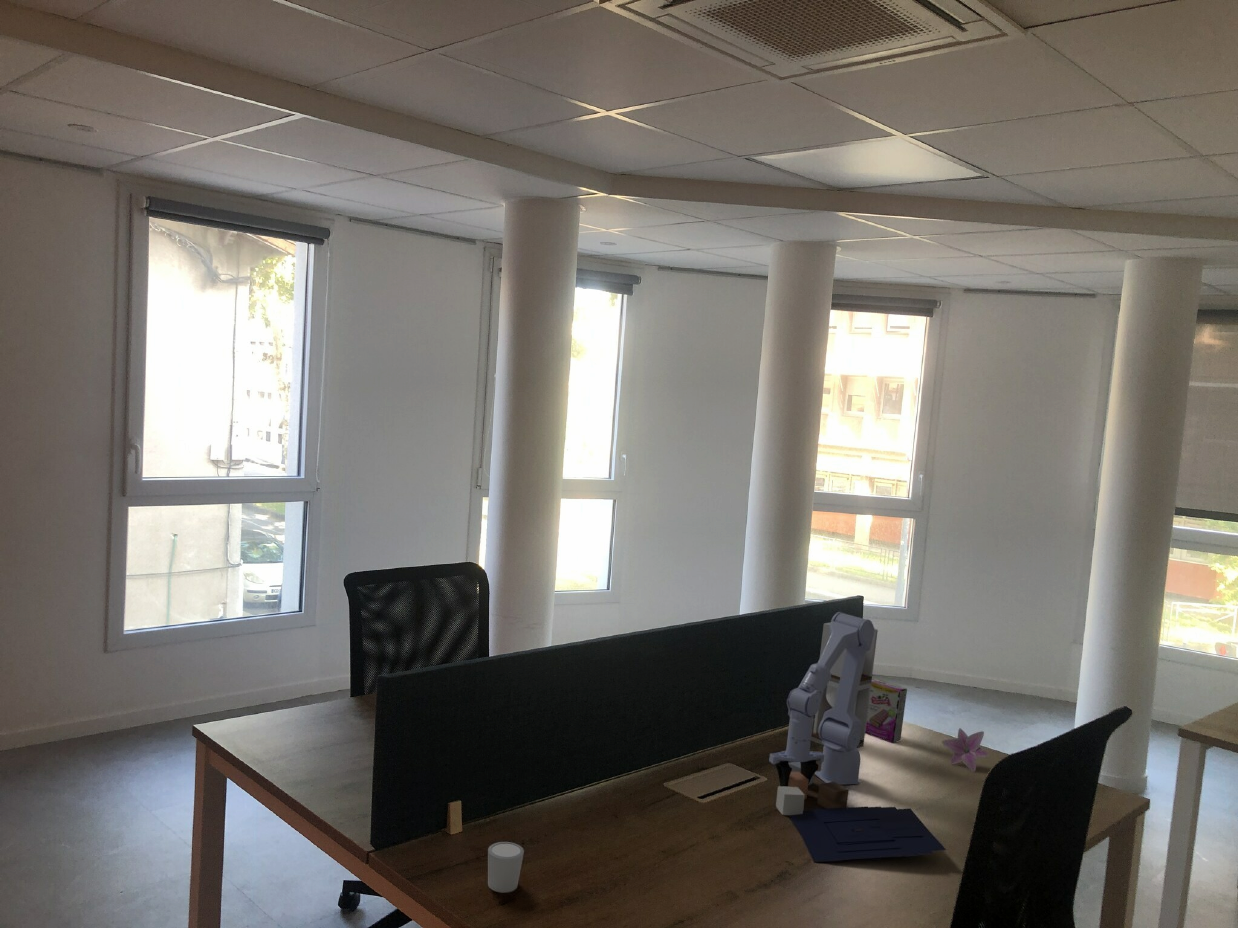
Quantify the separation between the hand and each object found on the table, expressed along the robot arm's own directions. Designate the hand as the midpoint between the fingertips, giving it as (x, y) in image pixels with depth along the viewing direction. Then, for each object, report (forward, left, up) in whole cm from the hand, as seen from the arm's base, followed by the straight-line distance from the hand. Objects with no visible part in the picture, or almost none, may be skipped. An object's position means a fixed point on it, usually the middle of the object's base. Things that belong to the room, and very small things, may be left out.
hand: (793, 789), depth 239 cm
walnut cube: (-7, +7, -2) cm, 10 cm away
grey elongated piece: (-33, -32, -2) cm, 46 cm away
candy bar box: (-51, -36, -2) cm, 62 cm away
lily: (-64, -14, -2) cm, 65 cm away
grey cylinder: (+81, +31, -2) cm, 87 cm away
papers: (-4, +24, -2) cm, 25 cm away
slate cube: (-6, -7, -2) cm, 9 cm away
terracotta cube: (0, 0, -1) cm, 1 cm away
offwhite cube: (+6, +8, -1) cm, 10 cm away
